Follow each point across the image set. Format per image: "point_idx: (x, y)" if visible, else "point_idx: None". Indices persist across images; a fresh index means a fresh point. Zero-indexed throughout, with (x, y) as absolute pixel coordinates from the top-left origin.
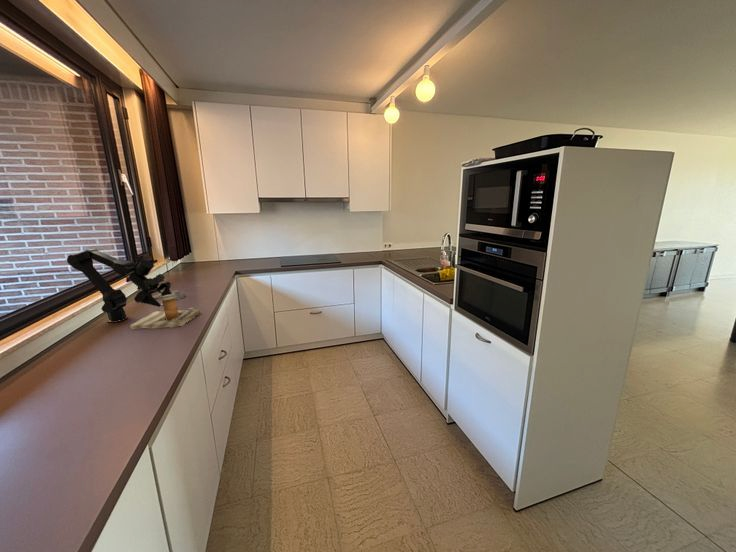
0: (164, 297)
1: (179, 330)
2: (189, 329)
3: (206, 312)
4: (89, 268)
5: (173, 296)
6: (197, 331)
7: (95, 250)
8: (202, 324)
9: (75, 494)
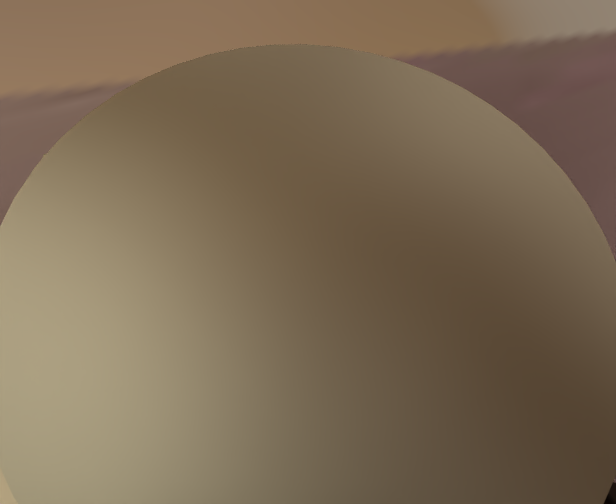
0: (494, 352)
1: (590, 199)
2: (558, 121)
3: (67, 124)
4: None
5: (382, 57)
6: (590, 49)
7: None
8: (440, 58)
9: None
